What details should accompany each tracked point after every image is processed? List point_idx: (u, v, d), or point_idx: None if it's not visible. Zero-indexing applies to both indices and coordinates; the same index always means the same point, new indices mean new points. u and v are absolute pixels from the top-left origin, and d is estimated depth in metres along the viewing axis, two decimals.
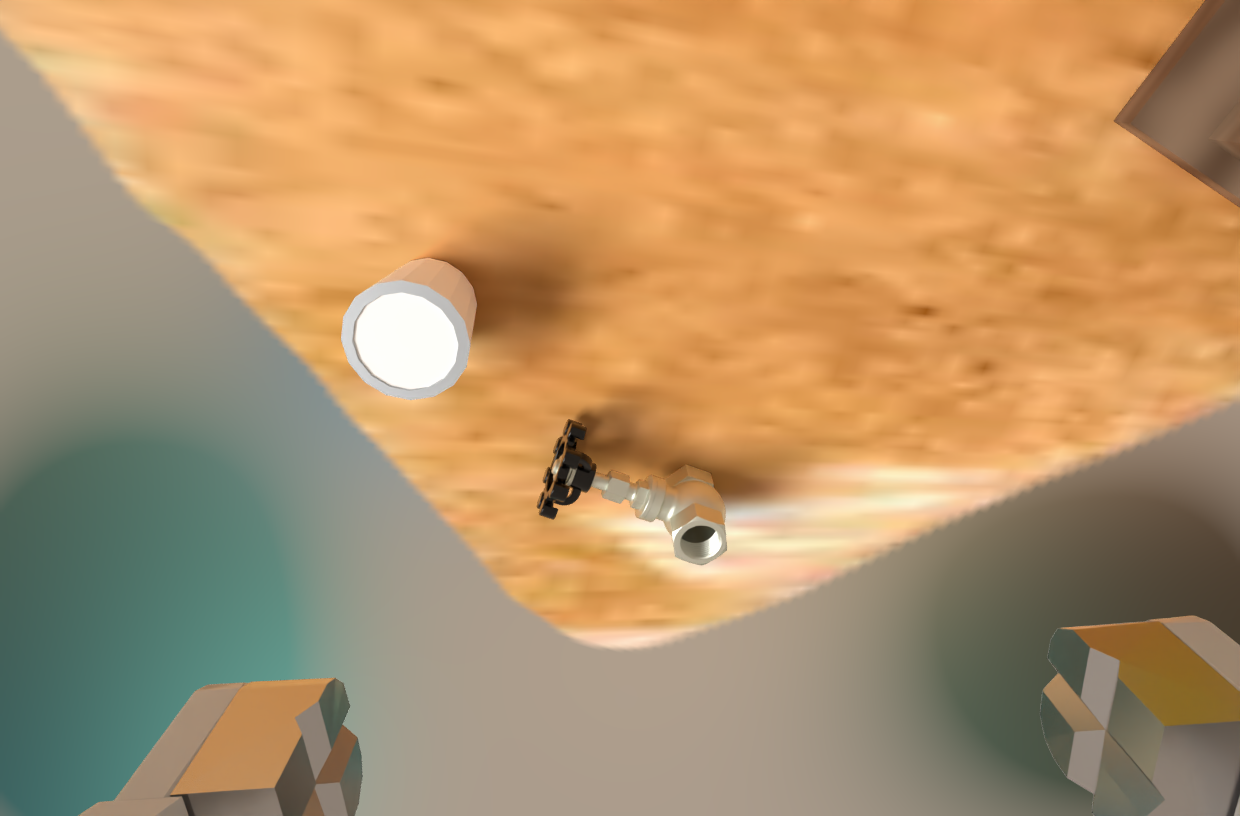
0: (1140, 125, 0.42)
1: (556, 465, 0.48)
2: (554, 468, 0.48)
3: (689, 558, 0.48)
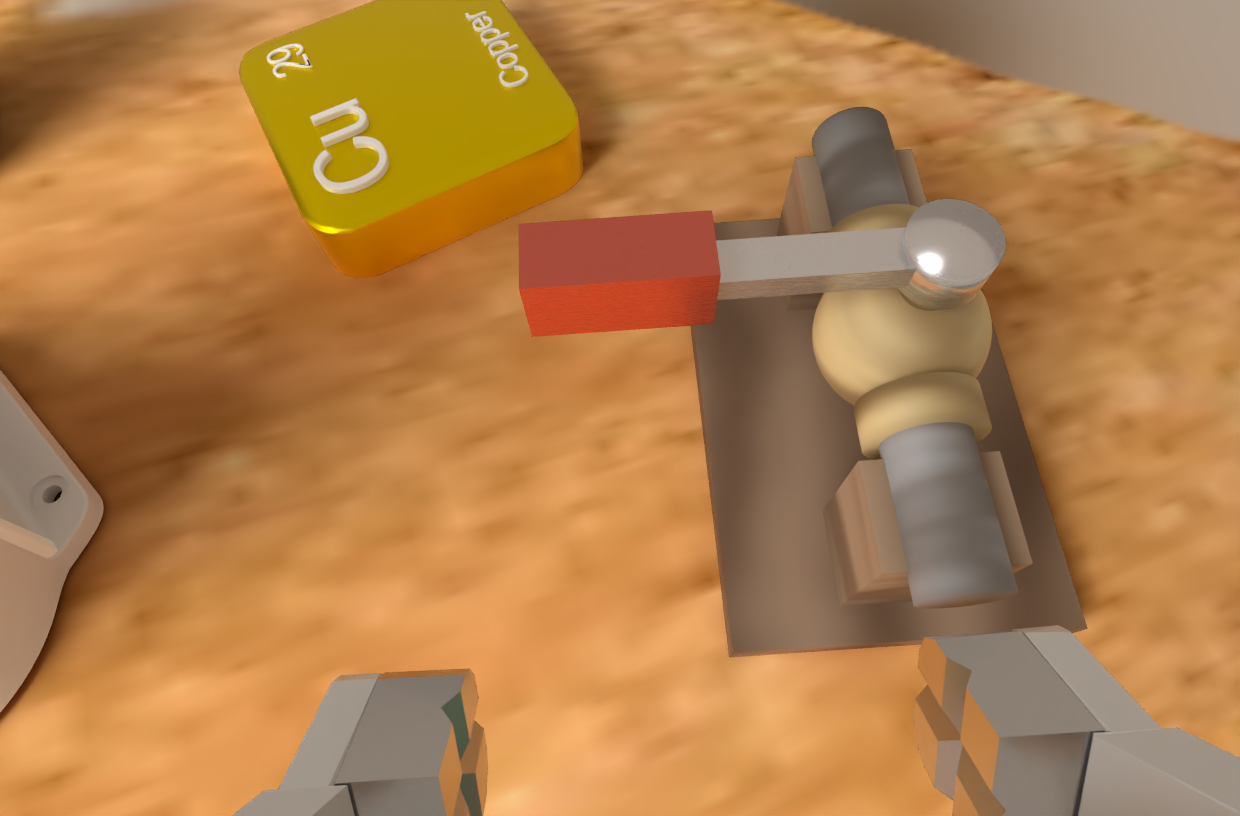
0: (747, 647, 0.30)
1: None
2: None
3: None
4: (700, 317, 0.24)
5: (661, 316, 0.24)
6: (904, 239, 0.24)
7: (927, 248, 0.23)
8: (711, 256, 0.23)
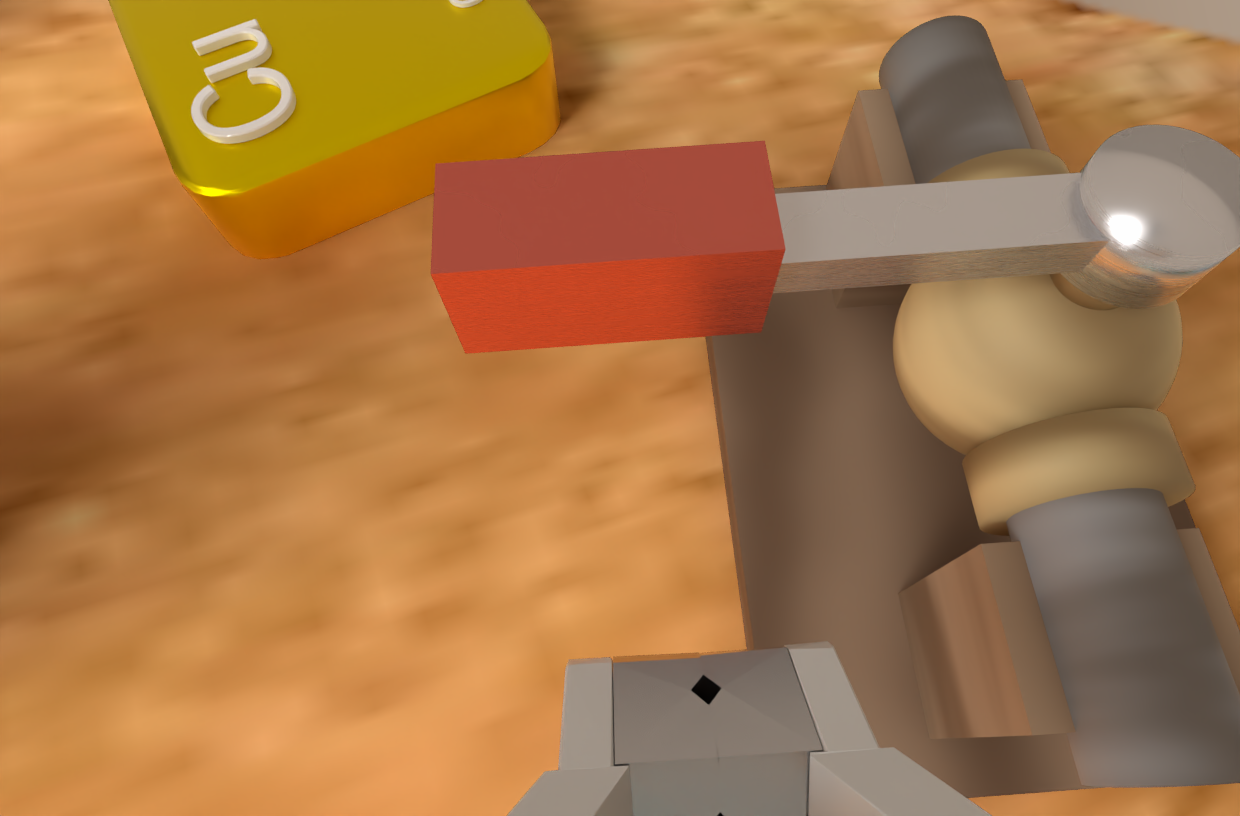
0: None
1: None
2: None
3: None
4: (741, 321, 0.15)
5: (677, 320, 0.15)
6: (1085, 191, 0.14)
7: (1130, 205, 0.14)
8: (767, 217, 0.13)
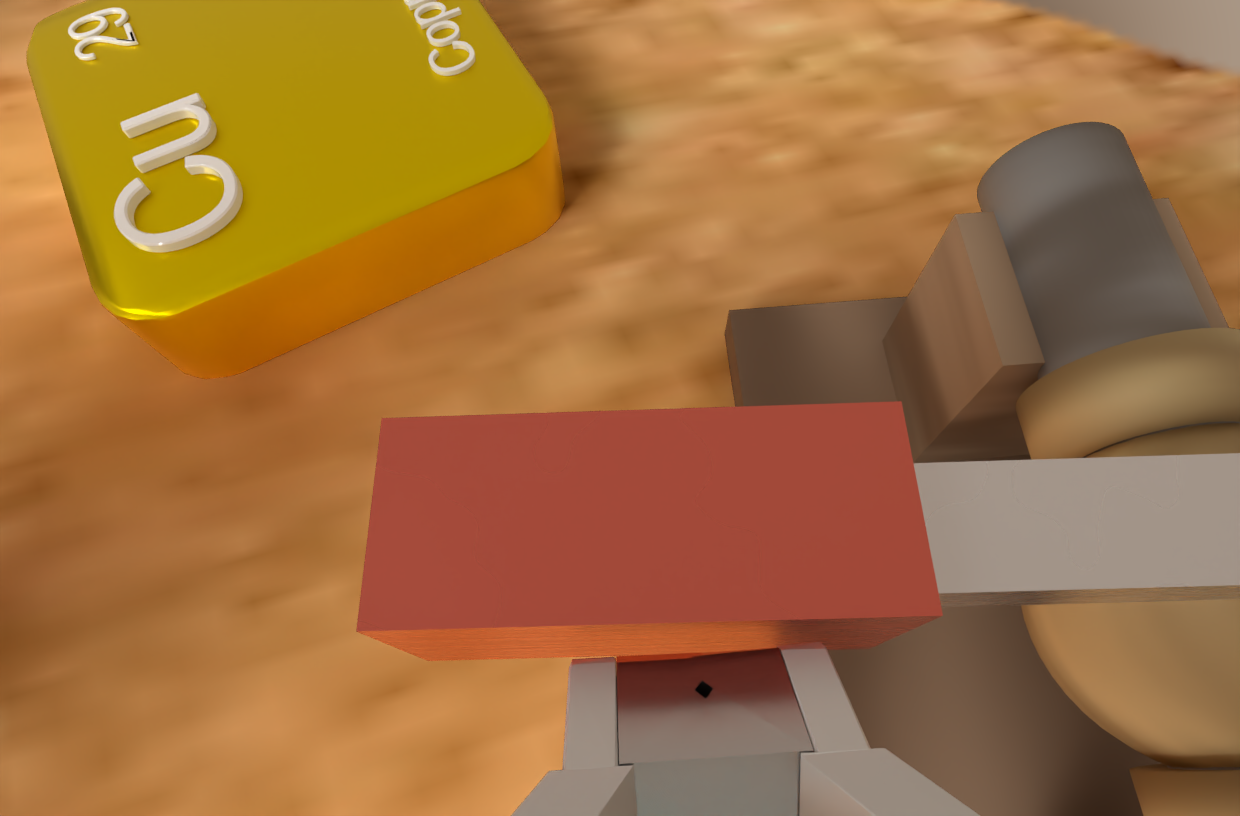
0: None
1: None
2: None
3: None
4: (842, 645, 0.10)
5: (746, 646, 0.10)
6: None
7: None
8: (910, 549, 0.08)
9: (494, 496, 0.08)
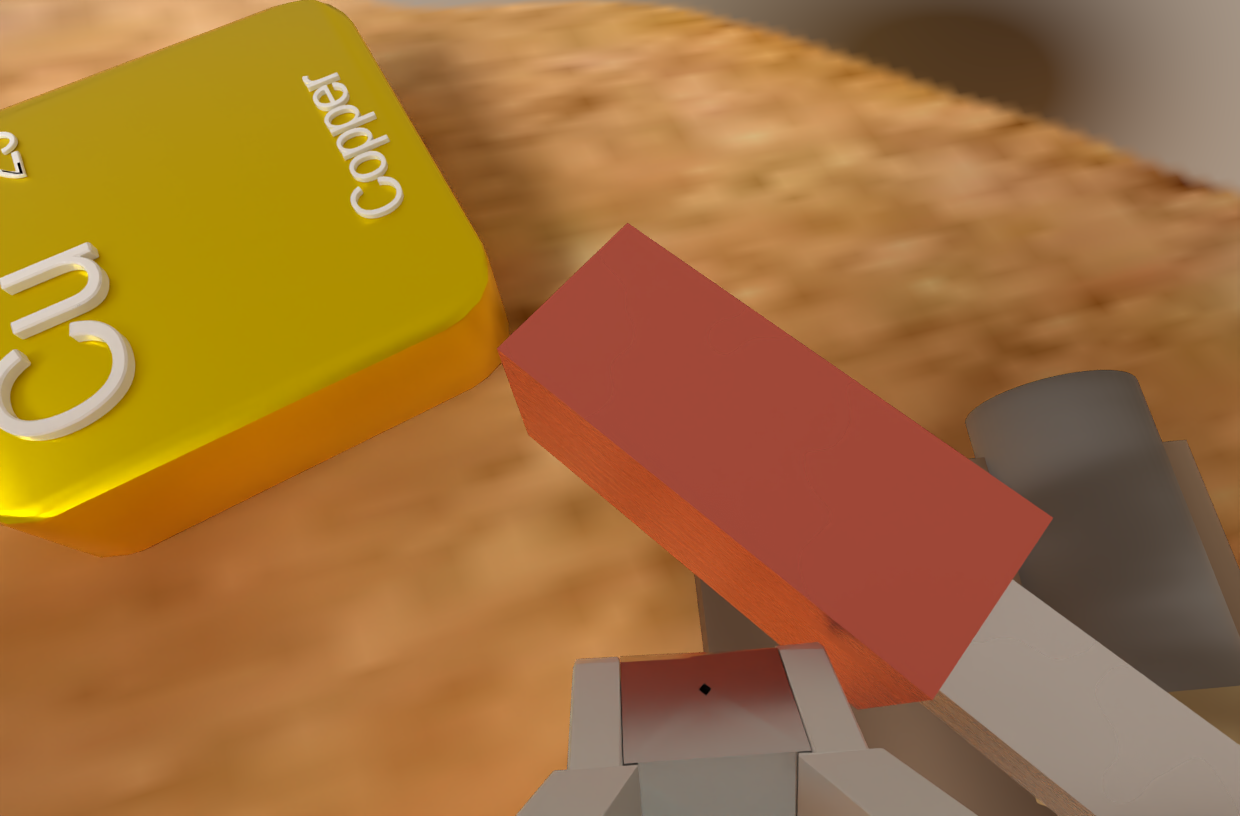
0: None
1: None
2: None
3: None
4: None
5: (758, 613, 0.10)
6: None
7: None
8: (951, 630, 0.08)
9: (659, 334, 0.09)
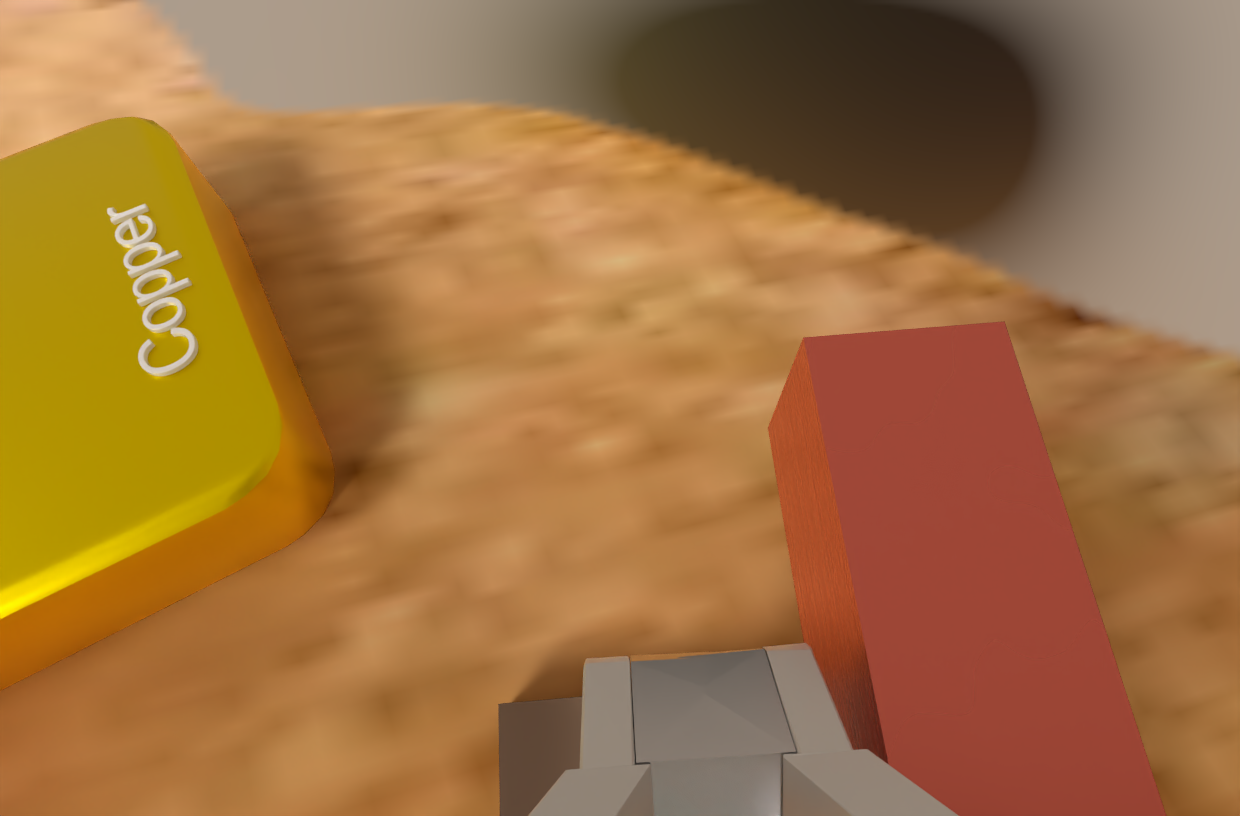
0: None
1: None
2: None
3: None
4: None
5: None
6: None
7: None
8: None
9: (950, 434, 0.08)
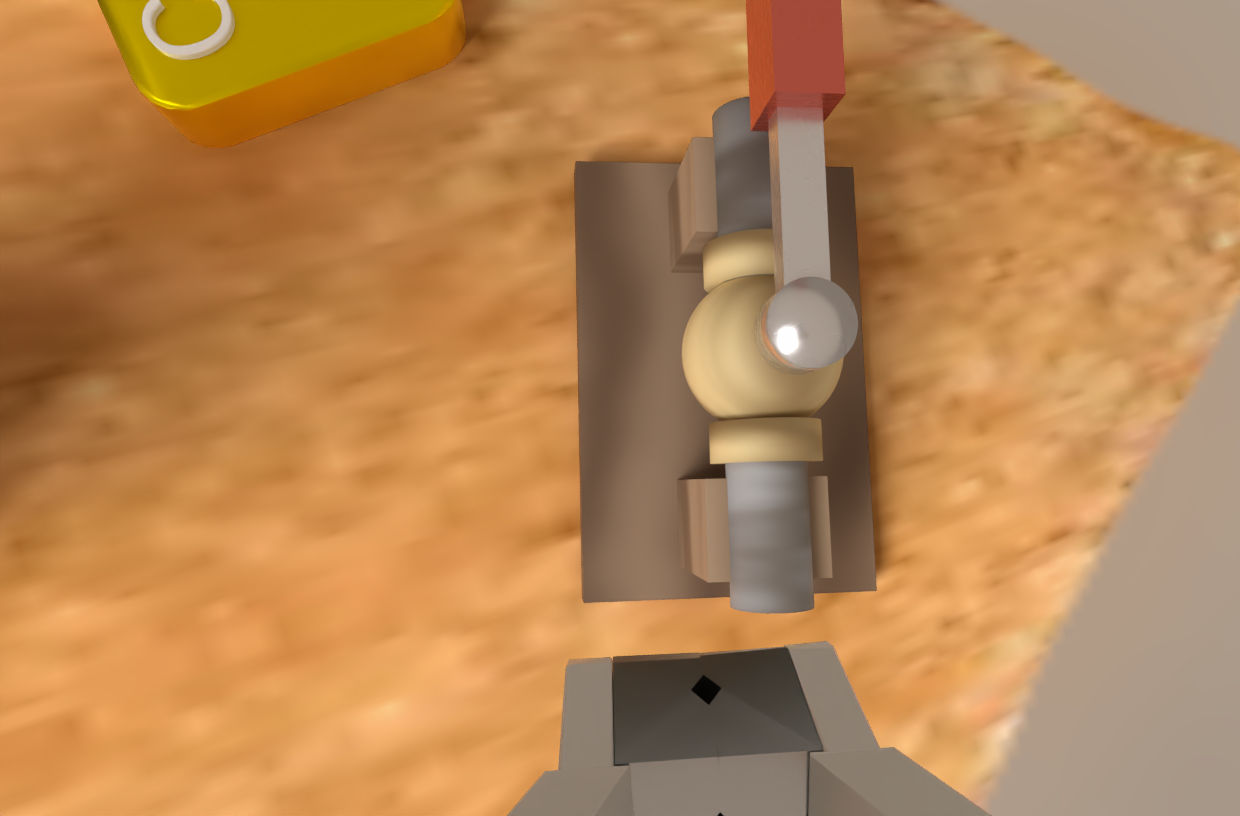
0: (596, 598, 0.35)
1: None
2: None
3: None
4: (754, 112, 0.27)
5: (754, 75, 0.27)
6: None
7: (801, 292, 0.25)
8: (794, 86, 0.25)
9: None
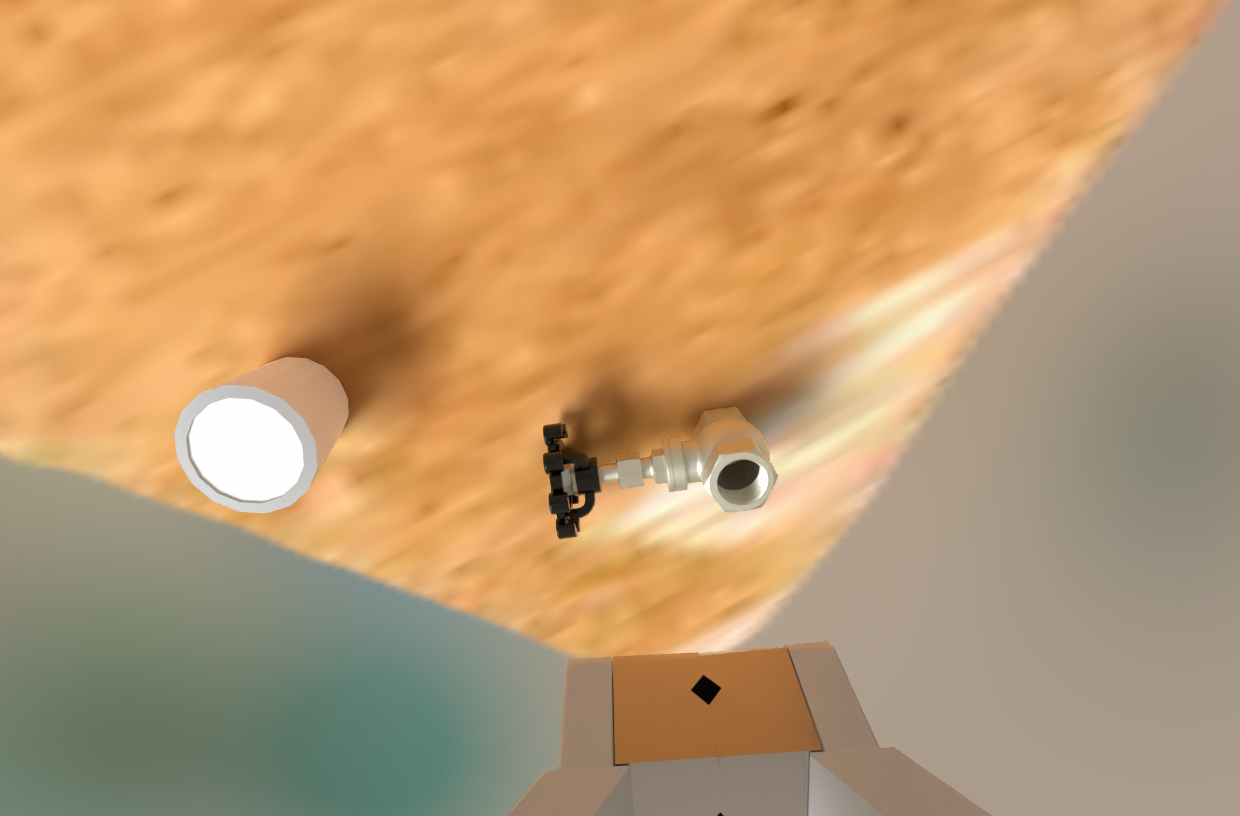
0: None
1: None
2: None
3: (741, 506, 0.39)
4: None
5: None
6: None
7: None
8: None
9: None
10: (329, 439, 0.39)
